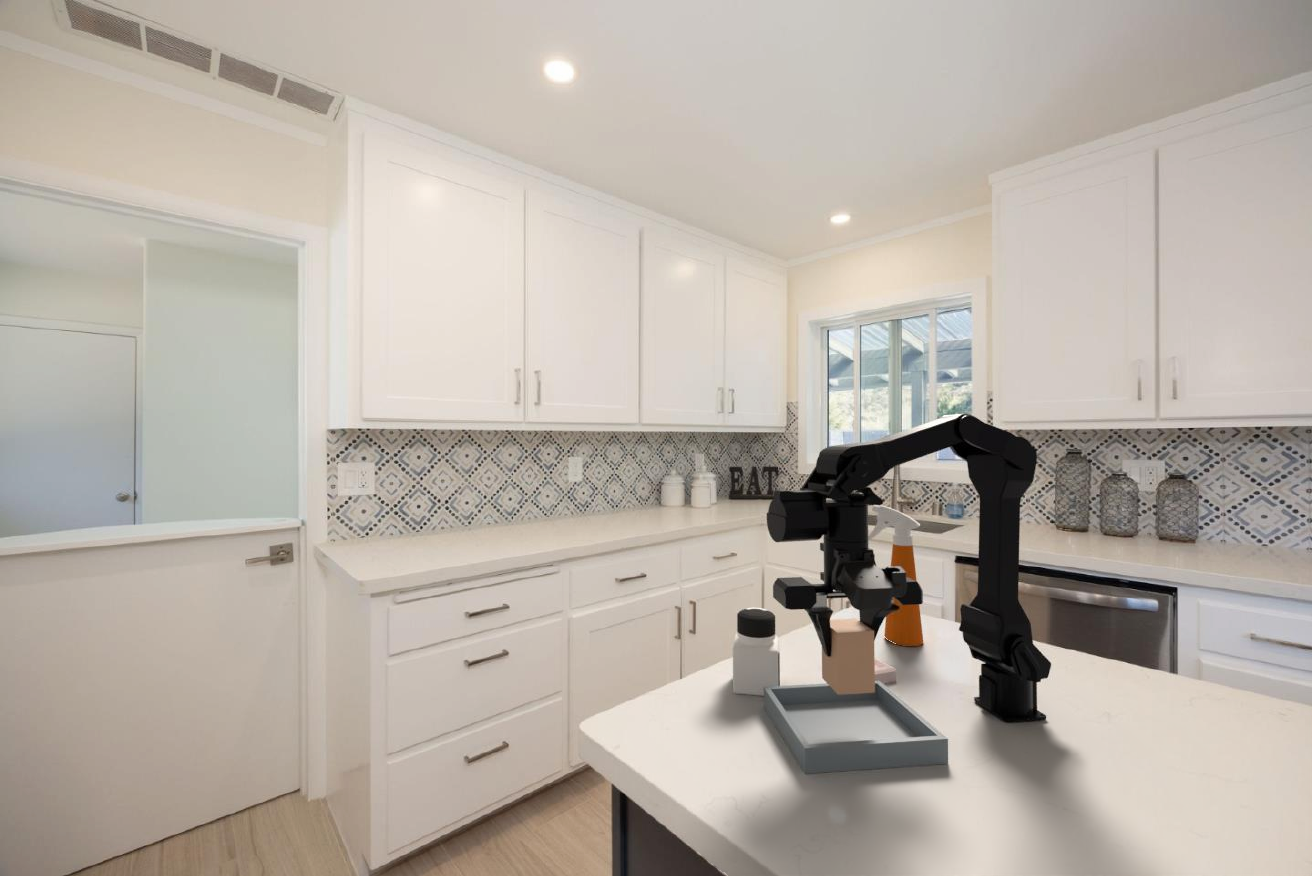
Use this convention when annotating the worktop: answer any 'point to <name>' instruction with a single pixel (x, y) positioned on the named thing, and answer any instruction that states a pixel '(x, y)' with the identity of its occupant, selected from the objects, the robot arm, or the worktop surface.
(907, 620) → the spray bottle
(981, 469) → the robot arm
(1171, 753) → the worktop surface
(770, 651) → the medicine bottle
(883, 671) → the soap bar
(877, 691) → the tray
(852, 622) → the carton
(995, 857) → the worktop surface
